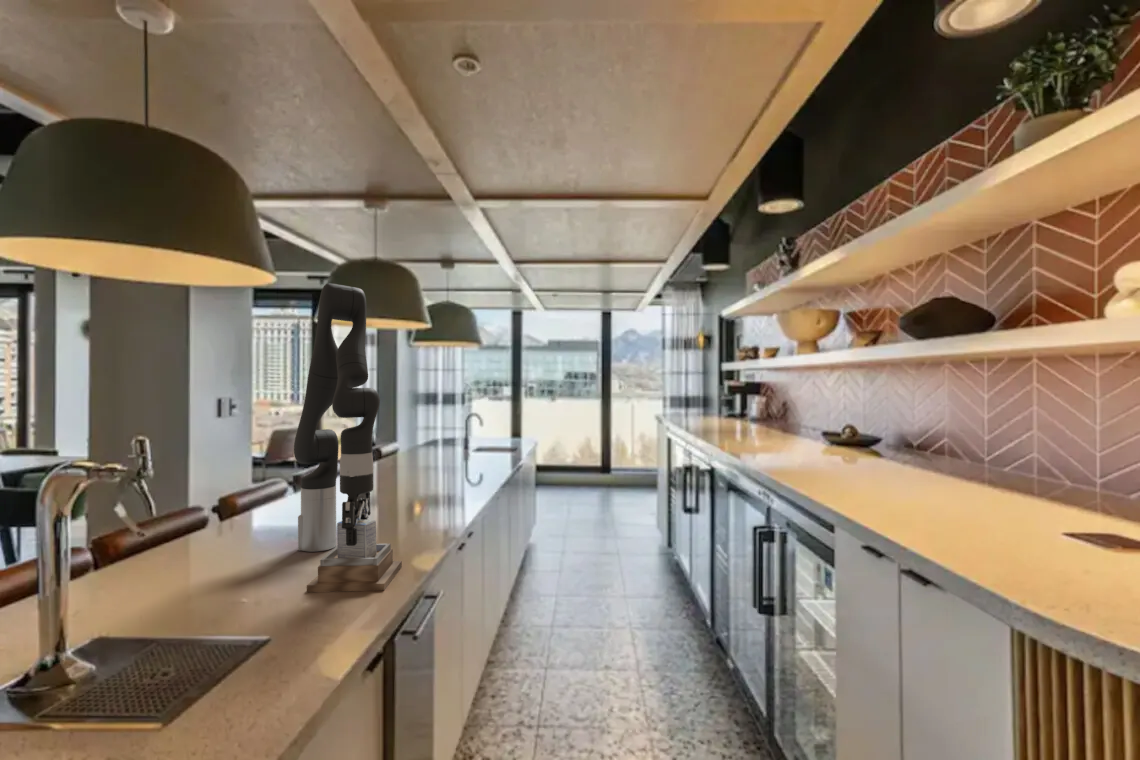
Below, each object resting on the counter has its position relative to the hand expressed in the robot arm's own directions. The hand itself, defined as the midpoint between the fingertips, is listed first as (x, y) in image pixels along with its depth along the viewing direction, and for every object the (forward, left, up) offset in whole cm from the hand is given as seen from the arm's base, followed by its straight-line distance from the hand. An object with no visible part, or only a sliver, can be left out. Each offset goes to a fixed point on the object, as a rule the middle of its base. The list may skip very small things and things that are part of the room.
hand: (357, 540), depth 142 cm
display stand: (0, 0, -9) cm, 9 cm away
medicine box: (0, 0, -4) cm, 4 cm away
